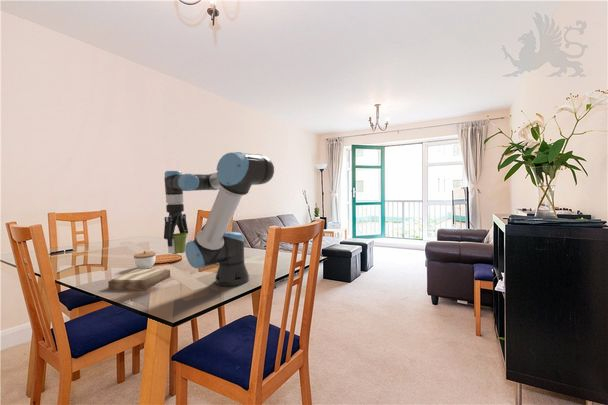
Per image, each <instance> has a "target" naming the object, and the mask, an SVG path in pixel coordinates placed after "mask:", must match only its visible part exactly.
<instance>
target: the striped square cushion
mask: <svg viewBox="0 0 608 405" xmlns="http://www.w3.org/2000/svg"><path fill="white" fill-rule="evenodd" d="M169 278H171V270H170V269H162V268H157V269H156V268H149V269H139V268H136V269H134V270H132V271H129V272H127V273H124V274H122V275H119V276H116V277H113V279H112V278H111V279H110V280H108V282H107V284H108V290H130V289H132V291H133V289H138V290H137V291H147V290H148V288H149V289H150V288H152V287H154V286H156V285H157V284H160V283H162V282H163V281H165V280H167V279H169Z"/></svg>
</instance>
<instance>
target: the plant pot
mask: <svg viewBox="0 0 608 405" xmlns="http://www.w3.org/2000/svg"><path fill="white" fill-rule="evenodd" d="M188 235H189V234H187V233H180V232H178V233H174V235H173V239H174V247H175V253H171V254H172V255H177V254H183V253H185V245H186V244H187V238H188ZM170 237H171V236H170Z"/></svg>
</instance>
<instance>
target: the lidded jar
mask: <svg viewBox="0 0 608 405" xmlns="http://www.w3.org/2000/svg"><path fill="white" fill-rule="evenodd" d="M156 254H157V252H155V251H147V250H143V252H138V253H135V254H134V255H133V261H134V264H135V266H136V267H137V269H148V268H149V269H152V267H153V266H154V265H155V263H156V259H157V258H156V257H157V255H156Z"/></svg>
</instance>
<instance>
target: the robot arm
mask: <svg viewBox="0 0 608 405" xmlns="http://www.w3.org/2000/svg"><path fill="white" fill-rule="evenodd" d="M216 171H217V172H213V173H210V174H209V173H207V174H200V173H199V174H195V173H184V174H183V173H182V171H181V170H166V171H165V172H164V190H165V204H166V206H165V208H166V209H165V210H166V213H168V216H165V217H164V229H163V231H164V232H163V239H164V240H166V241H167V249H168V250H167V251H168V254H172V253H175V247H174V239H173V235H174V234H175V231H176V230H175V229H176V227H177V228H178V231H179V232H178V233H187V234H188V233H189V228H188V224H187V214H186V213H182V212H184V211H185V207H184V205H185V204H184V192H192V191H218V192H217V195H216V197H215V199H214V202H213V205H212V207H211V210H210V212H209V214H208V217H207V219H206V221H205V224H204V226H203V228H202V230H200V231H198V232H197V233H196V236H195V238H194V240H189V241H187V242H186V245H185V252H184V253H185V257H186V260H187V262H188V264H189V265H190V266H191V267H192V268H194V269H201V268H205V267H208V266H212V265H216V264H218V267H217V272H216V275H215V278H214V279H215V284H216V285H217V286H221V287H234V286H239V285H244V284H246V283H247V282H249V280H250V277H249V276H250V274H249V272H248V269H247V266H246V264H245V240H244V235H243V233H241V232H238V231H227V230H228V227H229V225H230V223H231V222H232V220H233V217H234V214H235V212H236V210H237V207H238V206H239V204H240V201H241V199H242V197H243V196H246V195H248V193H249V191H250V189H251V187H252V186H253V185H255V186H258V185H264V184H267V183H269V181H271V180H272V179H273V177H274V174H275V165H274V164H273V162H272V160H271V159H270V158H269V157H268V156H266V155H264V154H254V153H247V152H246V153H244V152H241V151H240V152H239V151H235V152H227V153H225V154H224V155H222V156H221V157H220V159H219V160H218V163H217V165H216ZM188 235H189V234H188ZM170 236H171V237H170Z"/></svg>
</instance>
